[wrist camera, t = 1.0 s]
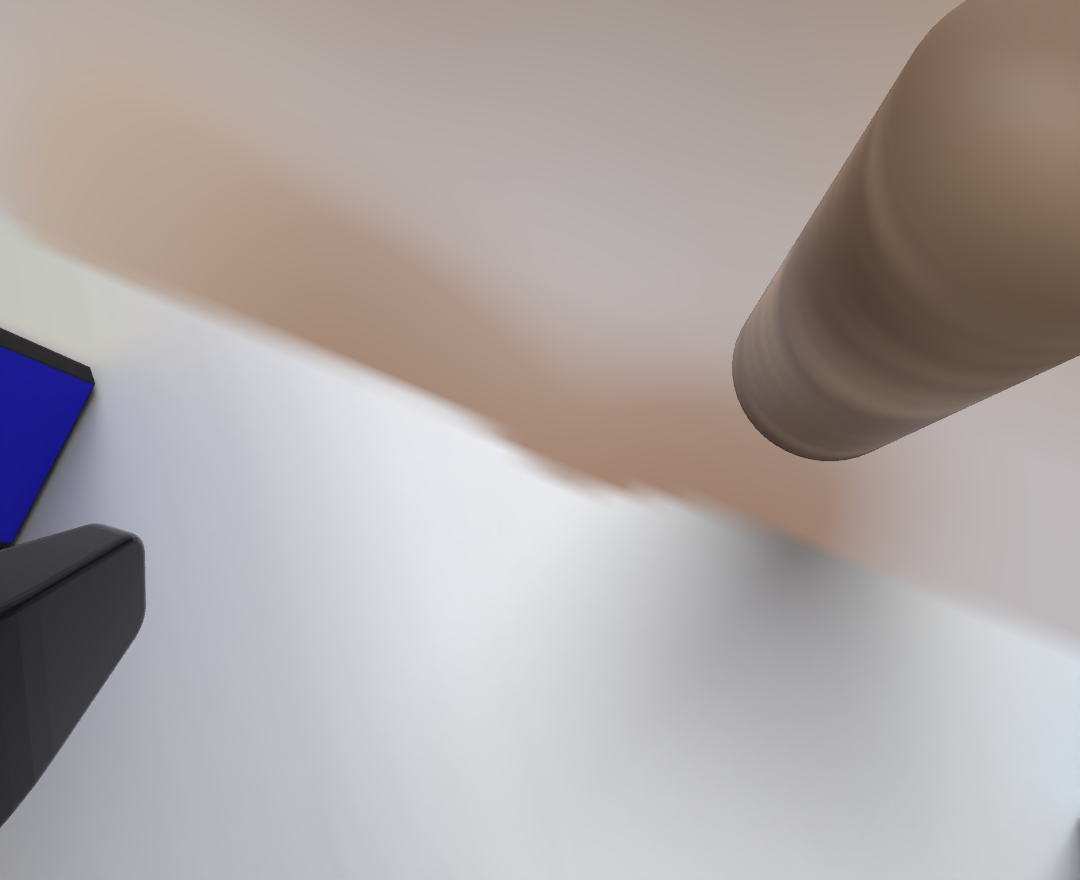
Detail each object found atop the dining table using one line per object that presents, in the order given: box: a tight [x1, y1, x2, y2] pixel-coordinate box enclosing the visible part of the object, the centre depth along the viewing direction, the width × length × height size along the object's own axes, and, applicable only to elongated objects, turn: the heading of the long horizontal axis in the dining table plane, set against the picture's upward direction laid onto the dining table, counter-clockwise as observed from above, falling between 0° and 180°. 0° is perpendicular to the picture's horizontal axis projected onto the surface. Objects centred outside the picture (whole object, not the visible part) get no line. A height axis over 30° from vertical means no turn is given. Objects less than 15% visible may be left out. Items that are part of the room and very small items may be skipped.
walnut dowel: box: [732, 0, 1080, 461], centre depth 16 cm, size 4×4×11 cm
